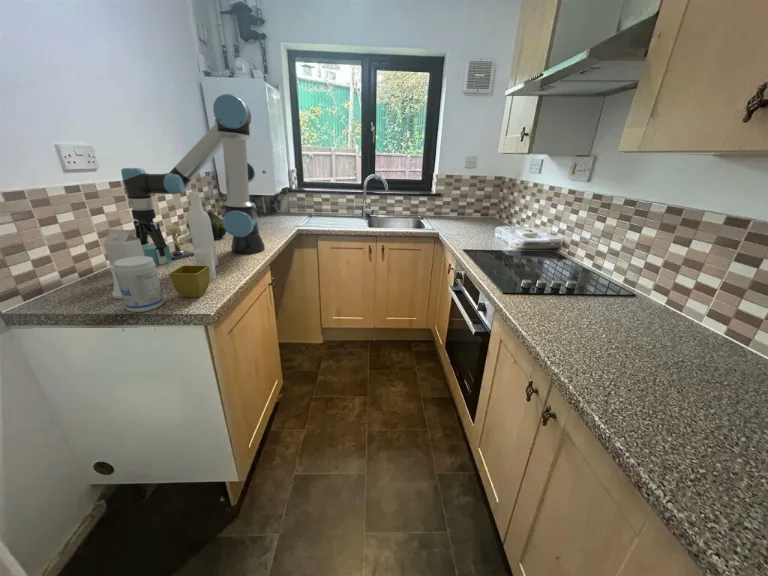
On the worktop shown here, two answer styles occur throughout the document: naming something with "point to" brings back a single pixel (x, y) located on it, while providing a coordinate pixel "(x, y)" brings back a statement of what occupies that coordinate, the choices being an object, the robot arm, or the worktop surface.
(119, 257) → the milk carton
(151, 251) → the teal block
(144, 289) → the supplement tub
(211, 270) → the cup
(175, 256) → the plate
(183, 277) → the flower pot
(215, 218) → the squash
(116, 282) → the salt shaker
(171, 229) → the key
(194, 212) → the bottle
